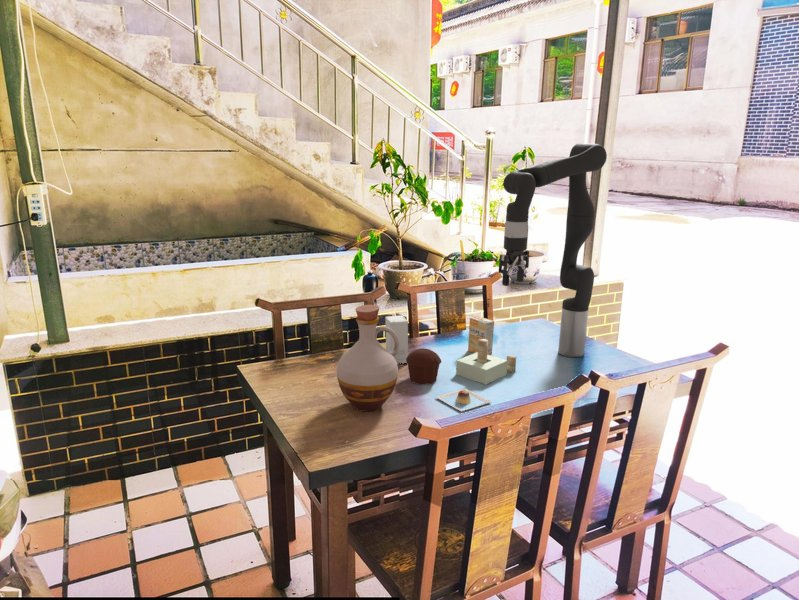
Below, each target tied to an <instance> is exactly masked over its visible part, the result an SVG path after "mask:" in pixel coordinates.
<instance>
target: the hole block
mask: <svg viewBox="0 0 799 600" xmlns="http://www.w3.org/2000/svg"><path fill="white" fill-rule="evenodd" d="M477 357H478V352H476V353H472V354H469V355H467V356H465V357H464V356H463V357H462V358H459V359H457V360H456V366H455V367H456V370H455V374H456V376H460V377H463V378H465V379H468V380H471V381H475V382H478V383H480V384H483V385H488V384H490V383H491V382H493V381H495V380H498V379H500V378H502V377H504V376H506V375H507V359H503V358H499V357H497V356H494V355H492V354H491V355H487V363H485V364H482V363H479V362H477Z"/></svg>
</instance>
